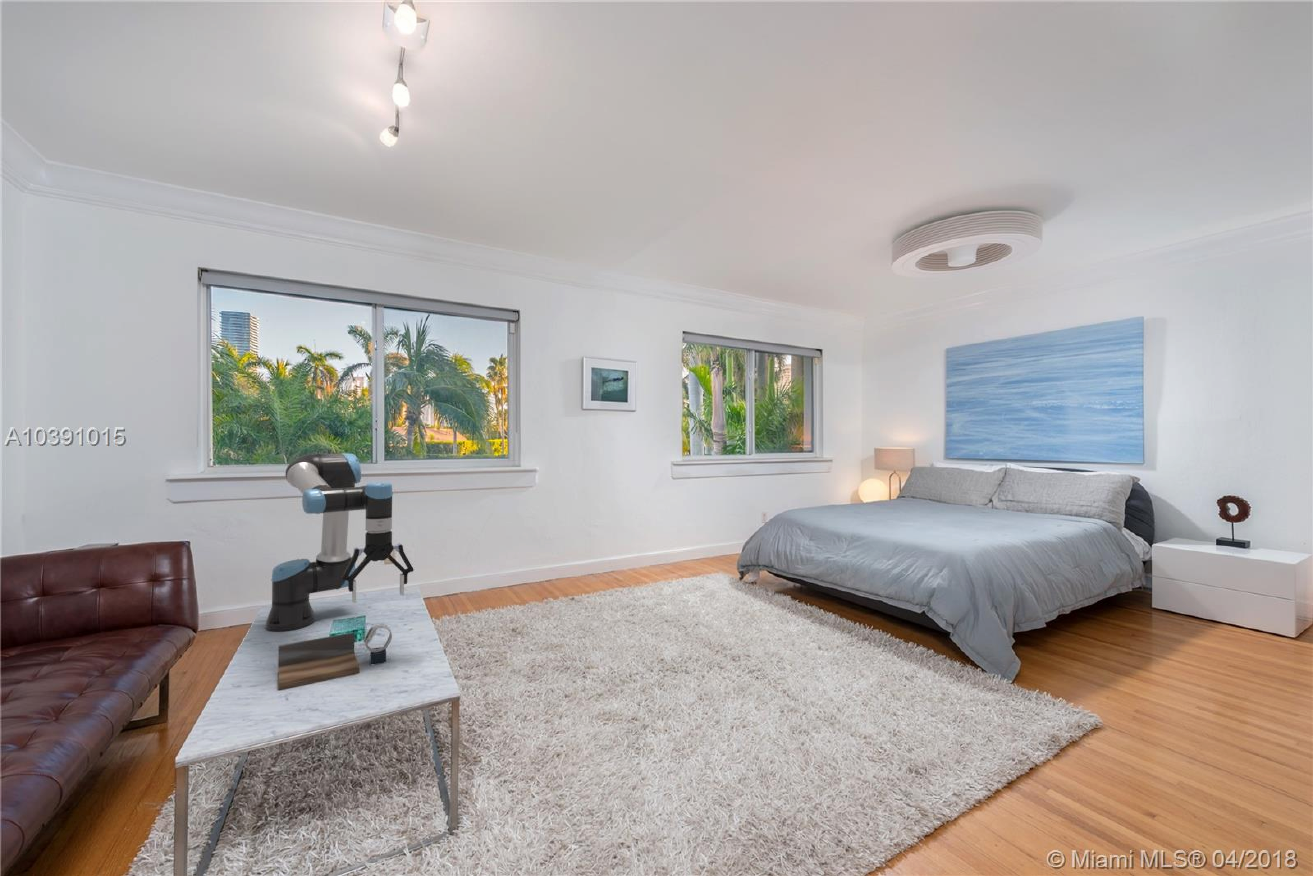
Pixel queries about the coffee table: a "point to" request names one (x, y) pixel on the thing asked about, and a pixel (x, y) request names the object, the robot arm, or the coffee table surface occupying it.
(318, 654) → the display stand
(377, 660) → the watch
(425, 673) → the coffee table surface
